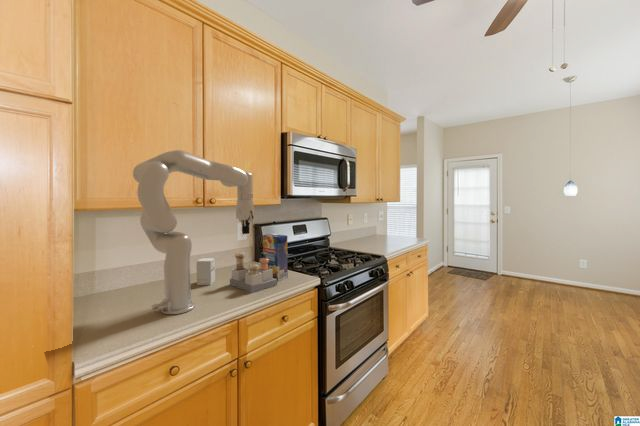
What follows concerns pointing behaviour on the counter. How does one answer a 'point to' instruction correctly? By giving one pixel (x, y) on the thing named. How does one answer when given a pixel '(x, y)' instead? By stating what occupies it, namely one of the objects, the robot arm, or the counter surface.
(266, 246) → the juice carton
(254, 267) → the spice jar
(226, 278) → the counter surface
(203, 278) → the supplement box
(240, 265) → the beech plug far
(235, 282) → the board
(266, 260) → the terracotta plug
